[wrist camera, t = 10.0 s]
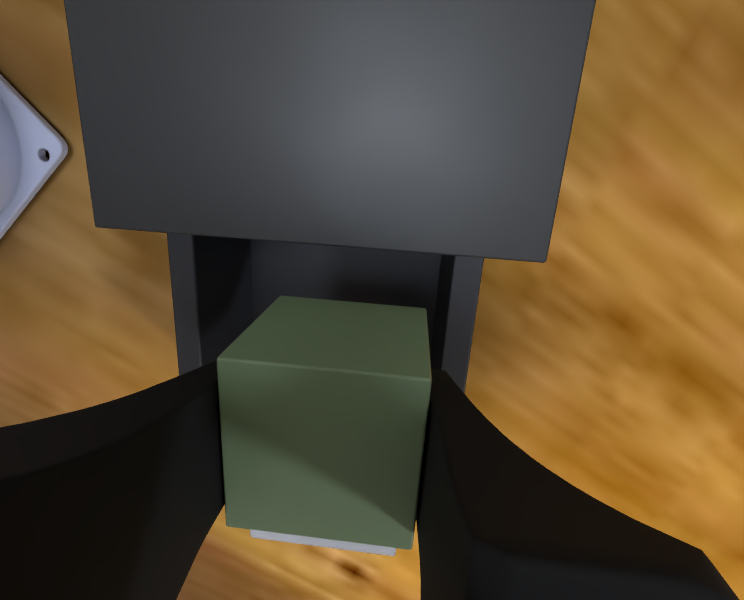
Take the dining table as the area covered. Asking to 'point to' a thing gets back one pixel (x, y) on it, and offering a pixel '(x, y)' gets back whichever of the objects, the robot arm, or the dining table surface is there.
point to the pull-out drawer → (319, 281)
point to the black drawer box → (331, 119)
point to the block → (326, 420)
